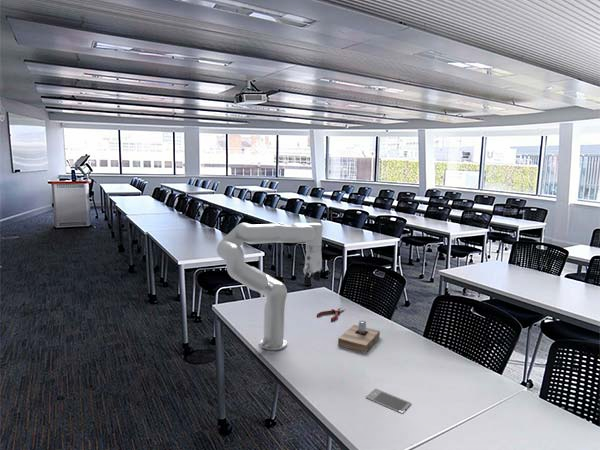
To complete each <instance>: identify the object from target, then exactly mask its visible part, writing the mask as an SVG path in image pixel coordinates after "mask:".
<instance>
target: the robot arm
mask: <svg viewBox="0 0 600 450" xmlns="http://www.w3.org/2000/svg"><path fill="white" fill-rule="evenodd" d="M322 241H323V225H322V223H319V222H309V223H307V222H306V223H305V222H295V223H293V224H292V225H284V224H280V223H263V224H262V223H261V224H259V223H258V224H251V223H248V222H241V223H239V224H238V225H236V226H235V227H234V228H232V230H231V231H230V232H229V233H227V234H226V235H225V236H224V237H223V239H221V240H220V242H219V243H218V244H217V247H216V254H217V255H218V257H219V258H221V259H223V260H224V261H225V262H226V263H225V264H226V271H227V274H228V275H229V276H230V278H231V279H234V281H237V282H239V283H241V284H242V285H243V286H245V287H246V288H248V289H249V290H251V291H255V292H257V293H259V294H261V295H262V296H263V297H265V298H266V301H265V303H264V307H263V310H264V311H263V312H264V313H263V314H264V315H263V337H262V339H261V340H260V343H259V344H258V347H259V348H263V349H264V350H267V351H280V350H283V349H285V348H286V347H287V343H288V342H287V340H286V339H284V338H285V335H284V334H285V311H286V310H285V309H286V308H285V307H286V299H287V297H288V296H287V295H288V290H287V287H286V285H285V283H283V282H282V281H280V280H278V279H276V278H275V277H272V276H271V275H269V274H267V273H265V272H264V271H261V270H260V269H258V268H257V267H255V266H253V265H252V266H251V265H249V264H247V263H246V262H245V255H244V254H245V253H244V250H243V248H242V247H241V246H242V245H243V244H244V243H246V244H249V245H257V244H270V243H280V244H282V243H286V244H287V243H288V244H289V243H290V244H294V243H295V244H297V243H300V244H301V243H305V251H306V253H305V258H304V267H303V269H302V271H303V277H304V278H303V279H304V280H303V283H304V285H306V286H311V285H312V284H311V281H312V277H311V275H312V273H313V281H320V280H321V271H322V268H323V257H322Z"/></svg>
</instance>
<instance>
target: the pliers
mask: <svg viewBox="0 0 600 450" xmlns="http://www.w3.org/2000/svg"><path fill="white" fill-rule="evenodd" d="M343 311H346V309H345V308H341V307H338V308H336V309H333V308H332V309H330V310H323V311H319V312H318V313H317V314H316V318H320V317H321V316H323V315H324V316H325V315H332V314H335V315H334V316H332V317H331V318H330V322H334V321H337V320H338V318H339V317H338V316H339V315H341V313H342V312H343Z"/></svg>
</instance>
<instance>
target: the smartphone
mask: <svg viewBox="0 0 600 450" xmlns="http://www.w3.org/2000/svg"><path fill="white" fill-rule="evenodd" d="M365 399H367V400H369V401H371V402H373V401H374V403H376V404H378V403H379V404H378V405H380V404H381V406H383V405H384V406H383V407H385V406H386V407H385V408H387V407H388V409H390V408H391V409H390V410H392V409H393V410H392V411H394V410H396V411H399V410H401V411H404V410H405V409H407V410H408V408H410V406H412V402H410V401H407V400H406V399H405V400H404V399H403V398H401V397H397V396H395V395H393V394H391V393H388V392H385V391H383V390H381V389H378V388H374V389H373V390H372V391H370V392H369V394H367V395H366V396H365ZM396 411H395V412H396Z"/></svg>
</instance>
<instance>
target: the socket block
mask: <svg viewBox="0 0 600 450" xmlns="http://www.w3.org/2000/svg"><path fill="white" fill-rule="evenodd" d="M358 327H359V324H358V325H356V324H353V325H352V326H351V327H349V329H347V330H346V331H345V332H344V333H342V335H341V336H339V337H338V340H337V346H339V347H344V348H347V349H350V350H355V351H358V352H362V353H365V354H366V353H367V352H368V350H369V349H370V348H372V347H373V345H374V344H375V343H376V342H377V341H378V340H379V339H380V334H381V330H377V329H373V328H369V327H366V332H365V336H364V335H360V334H358Z"/></svg>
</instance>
